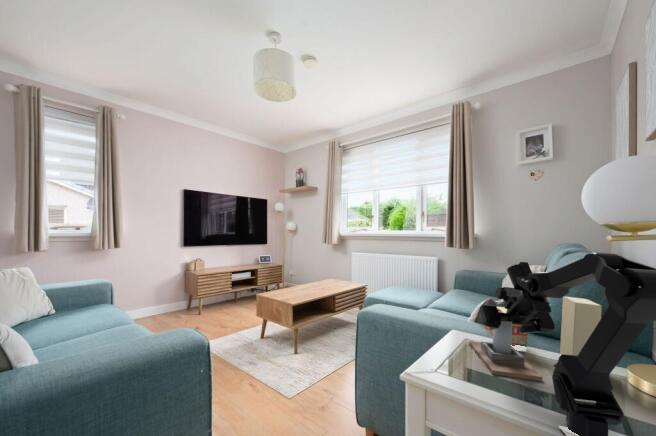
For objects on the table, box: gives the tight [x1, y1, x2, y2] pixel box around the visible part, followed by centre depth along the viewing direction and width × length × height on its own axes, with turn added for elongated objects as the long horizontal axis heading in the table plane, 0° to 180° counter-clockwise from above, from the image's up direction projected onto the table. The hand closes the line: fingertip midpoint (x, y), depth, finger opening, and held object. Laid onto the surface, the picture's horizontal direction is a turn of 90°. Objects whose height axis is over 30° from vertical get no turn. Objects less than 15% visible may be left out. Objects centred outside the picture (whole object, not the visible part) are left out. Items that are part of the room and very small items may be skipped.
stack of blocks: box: [484, 305, 529, 348], centre depth 106 cm, size 21×6×12 cm, turn 170°
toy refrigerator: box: [559, 296, 602, 356], centre depth 86 cm, size 8×7×21 cm
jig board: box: [468, 340, 543, 382], centre depth 88 cm, size 20×13×4 cm, turn 170°
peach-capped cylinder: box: [492, 321, 512, 355], centre depth 88 cm, size 5×5×13 cm
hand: (504, 329), depth 86 cm, fingers open, 9 cm apart
